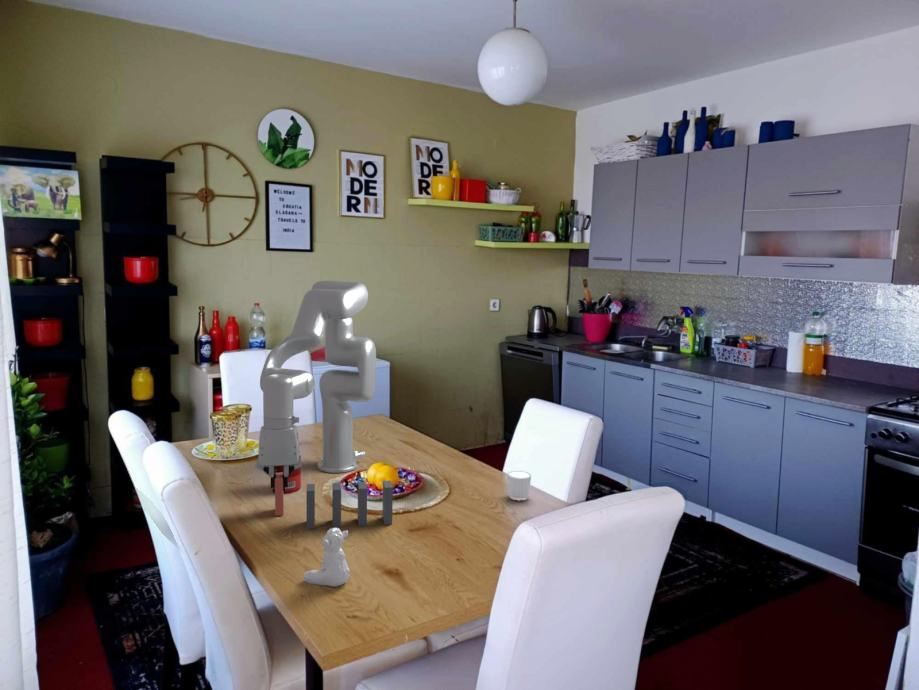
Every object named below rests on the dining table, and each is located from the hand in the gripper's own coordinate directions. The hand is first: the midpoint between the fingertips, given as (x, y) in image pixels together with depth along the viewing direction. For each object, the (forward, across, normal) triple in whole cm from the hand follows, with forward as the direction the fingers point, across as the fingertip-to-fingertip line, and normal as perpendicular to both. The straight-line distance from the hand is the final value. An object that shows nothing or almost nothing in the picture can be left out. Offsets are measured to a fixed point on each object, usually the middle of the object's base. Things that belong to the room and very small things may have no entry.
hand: (279, 489), depth 176 cm
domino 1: (+6, -8, +9) cm, 14 cm away
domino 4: (+6, -28, +9) cm, 30 cm away
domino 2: (+6, -15, +9) cm, 18 cm away
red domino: (+6, 0, 0) cm, 6 cm away
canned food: (+7, -1, -17) cm, 19 cm away
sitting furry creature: (+7, -13, +38) cm, 41 cm away
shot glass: (+7, -67, -2) cm, 67 cm away
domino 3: (+6, -21, +9) cm, 24 cm away
